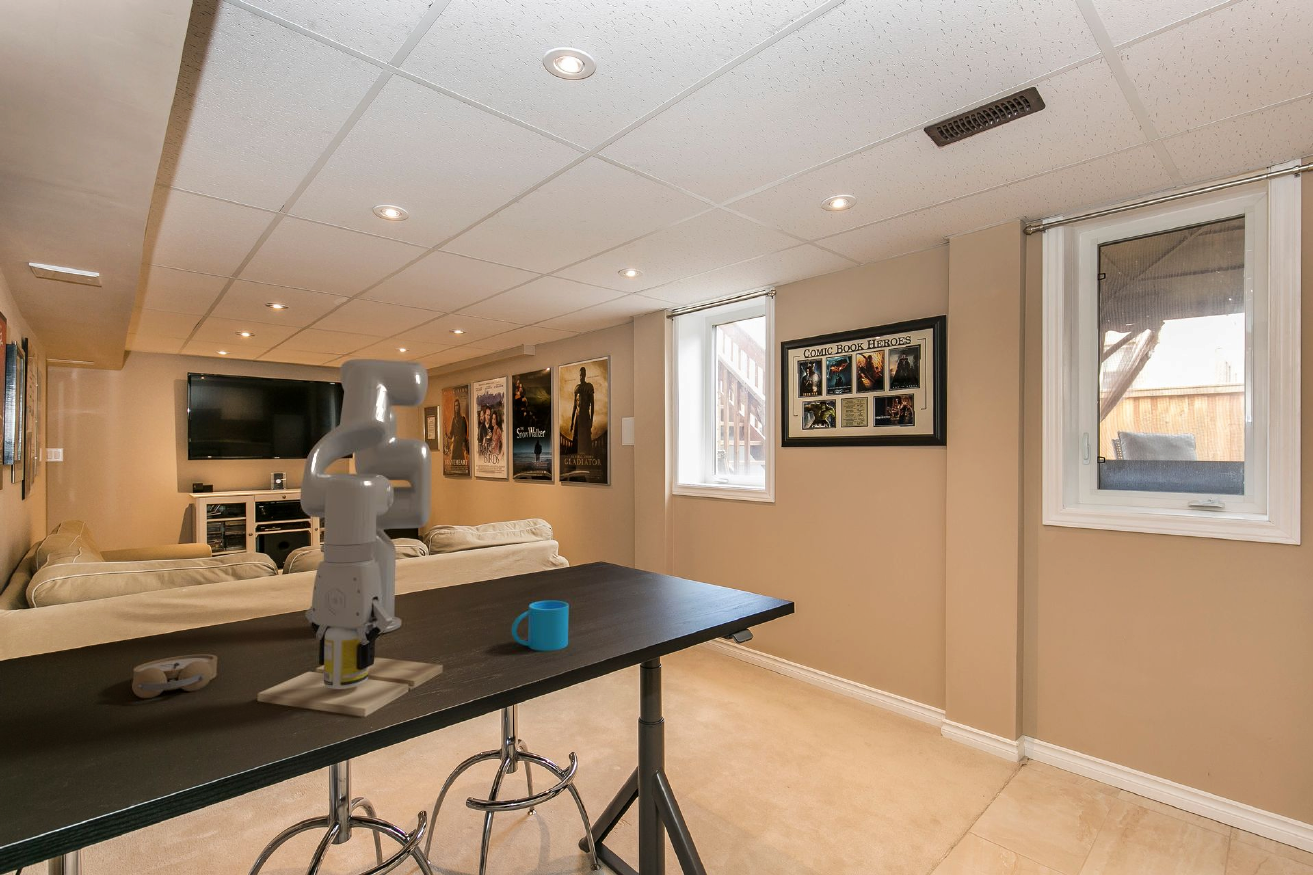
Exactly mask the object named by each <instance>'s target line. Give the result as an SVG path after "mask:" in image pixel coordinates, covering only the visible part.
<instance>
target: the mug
mask: <svg viewBox="0 0 1313 875" xmlns="http://www.w3.org/2000/svg"><path fill="white" fill-rule="evenodd" d="M569 607H570V606H569V603H567V602H565V601H562V600H561V601H560V600H541V601H535V602H531V603H530V604H529V606H528V610H527V611H525V612H523V613H521V614H520V615H519V616H518V617H516V618H515V620H514V622H513V623H512V626H511V636H512V638H513V639H514V640H515V641H516V642H517V643H519V644H520V645H523V646H525V647H526V646H528V648H530V649H531V650H535V651H539V652H544V651H545V652H549V651H550V652H551V651H557V650H562V649H564V648H566V647H567V646H568V645H569ZM527 616H528V633H527V634H528V639H527V640H528V641H527V640H523V639H521V637H519V635H518V633H517V632H518V631H517V628H518V626H519V623H520V622H521V621H522V620H523V619H524V618H527Z"/></svg>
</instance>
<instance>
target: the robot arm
mask: <svg viewBox="0 0 1313 875" xmlns="http://www.w3.org/2000/svg"><path fill="white" fill-rule="evenodd" d="M428 377H429V375H428V371H427V369H426V366H424V364H423V363H421V362H417V361H404V360H403V361H401V360H388V359H376V358H375V359H374V358H373V359H372V358H355V359H349V360H346V361H344V362H343V363H342V364H341V366H340V369H339V378H340V383H341V385H342V386H341V387H342V389H343V391H344V393H343V399H342V406H341V414H340V422H339V425H338V426H336V427H334V428H333V429H332V430H330V431H329V432H327V433H326V434H325V435H324V436H323V437H321V439H320V440H319V441H318V442H317V443H316V444H315V445H314V446H313V447H312V449H311V450H310V452H309V454H308V456H307V458H306V461H305V464H304V470H303V474H302V480H301V486H300V492H299V493H300V495H299V496H300V497H299V498H300V499H299V500H300V506H301V509H302V511H303V512H304V513H305V514H306V515H307V516H309V517H313V518H321V519H322V518H324V531H323V533H324V535H323V544H322V545H321V546H320V552H321V553H323V560H322V561H320V562H319V563H318V566H317V569H316V574H315V578H314V582H313V591H312V597H311V598H312V600H311V606H310V607H309V608H308V609H307V610H306V611H305V613H304V615H305V618H306V619H307V620H308V622H309V623H310V624H311V626H310V627H311V628H312V629H313V631H314V632H315V638H316V639H317V640H318V641H319V648H318V649H319V653H318V654H319V656H318V664H319V666H323V665H324V645H325V633H326V631H327V629H328V628H330V627H340V628H350V629H357V632H358V635H359V638H360V641H361V644H359V645H358V646H357V669H358V670H363V669H365V668H367V667H369V666H371V665H373V664H374V658H375V656H376V655H375V654H376V652H375V651H376V641H378V640H379V639H380V636H381V635H382V634H385V633H389V632H392V631H395V630H397V629H399V628H400V627H401V626H402V619H400V618H399V617H397V616H395V601H396V600H395V596H396V595H395V592H396V565H397V564H396V562H397V561H396V560H397V559H396V558H397V555H396V554H397V553H396V552H397V548H396V546H395V544H394V542H393V540H392V539H391V538H390V537H389V535H388V534H386V532H385V531H384V530H390V529H391V530H392V529H418V528H419V529H420V528H422V527H424V526H426V525H427V524H428V522H429V520H430V518H431V517H430V516H431V507H432V505H431V504H432V503H431V502H432V498H431V497H432V455H431V454H432V453H431V450H430V446H429V444H428V443H427V442H426V441H424V440H423V439H422V440H421V439H418V438H399V437H398V435H397V432H398V430H397V428H398V424H397V423H398V417H397V414H396V413H395V411H394V409H393V408H392V407H410V408H411V407H412V408H413V407H415V408H416V407H420V406H421V405H423V403H424V401H425V398H426V395H427V392H428V386H429V378H428ZM352 454H354V469H355V473H325V472H326V470H327V468H329V467H330V466H331V465H332V464H333V463H335V462H336V461H338V460H340V459H342V458H344V457H346V456H349V455H352ZM391 481H405V482H407V483H409V484H410V485H409V486H402V485H401V486H399V485H398V486H394V485H393V484H392V483H391ZM365 627H367V629H368V632H369V633H368V634H367V631H366V628H365Z"/></svg>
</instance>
